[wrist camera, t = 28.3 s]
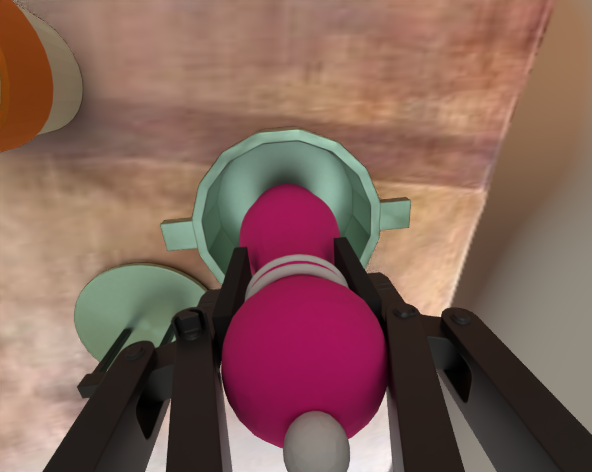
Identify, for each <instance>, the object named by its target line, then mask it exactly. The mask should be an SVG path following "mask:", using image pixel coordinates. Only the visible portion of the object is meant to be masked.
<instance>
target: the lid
mask: <svg viewBox="0 0 592 472" xmlns="http://www.w3.org/2000/svg"><path fill="white" fill-rule="evenodd" d="M206 291H207V289H206V288H205V287H204V286H203V285H202V284H201V283H199V282H198V281H197V280H195V279H194V278H192V277H191V276H189V275H187V274H185V273H183V272H181V271H179V270H176V269H174V268H171V267H167V266H164V265H159V264H153V263H131V264H124V265H120V266H116V267H113V268H111V269H108V270H106V271H104V272H102V273H101V274H99V275H98V276H96V277H95V278H94V279H93V280H92V281H90V282H89V283H88V284H87V285H86V286H85V288H84V289H83V290H82V292H81V293H80V295H79V297H78V299H77V302H76V305H75V311H74V321H75V327H76V330H77V333H78V336H79V338H80V340H81V342H82V343H83V345H84V346H85V348H86V349H87V350H88V351H89V352H90V354H91V355H92V356H93V357H94V358H96V359H97V360H98V361H99V362H100V363H99V364H98V366H97V367H96V368H95V370H94V371H93V373H91V374H86V375H85V377H84V378H83V379H82V381H81V382H80V383H79V385H78V386H77V388H78V390H79V392H80V394H81V396H82V398H90V397H91V396H92V394H93V392H94V391H95V389H96V388H97V386H98V385H99V383H100V382H101V380H102V378H103V377H104V375H105V374H106V371H107V369H108V368H110V366H111V364H112V363H113V361H114V360H115V358H116V357H117V355H118V354H119V353H120V352H121V351H122V350H123V349H124V348H125V347H127V346H128V345H130V344H132V343H135V342H138V341H142V340H147V341H151V342H153V344H154V346H155V348H156V347H159V346H162V345H165V344H168V343H171V342H173V341H175V340H176V338H175V334H174V331H173V328H172V324H171V320H172V317H173V316H174V315H175V314H176V313H178V312H180V311H181V310H183V309H186V308H190V307H197V305H198V303H199V300H200V298H201V296H202V295H203V294H204V293H205V292H206Z"/></svg>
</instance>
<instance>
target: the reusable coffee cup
mask: <svg viewBox="0 0 592 472" xmlns="http://www.w3.org/2000/svg"><path fill="white" fill-rule="evenodd" d="M82 92H83V87H82V77H81V74H80V70H79V67H78V64H77V62H76V60H75V58H74V55H73V53H72V52H71V50H70V49H69V47H68V46H67V44H66V43H65V41H64V40H63V39H62V38H61V37H60V36H59V34H58V33H57V32H56V31H55V30H54V29H53V28H51V27H50V26H49V25H48V24H47V23H45V22H44V21H43V20H41V19H39V18H38V17H36V16H34V15H33V14H31V13H29V12H28V11H26V10H24V9H23V8H21V7H20V6H18V5H16V4H15V3H14V2H13V1H12V0H0V152H4V151H7V150H10V149H14V148H17V147H20V146H21V145H23V144H25V143H27V142H29V141H31V140H32V139H33V138H34V137H35V136H36V135H40V134H43V133H47V132H51V131H54V130H58V129H60V128H62V127H64V126H65V125H67V124H68V123H69V122H70V121H71V120H72V119H73V118H74V117H75V115H76V113H77V112H78V110H79V107H80V104H81V101H82Z"/></svg>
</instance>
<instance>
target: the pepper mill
mask: <svg viewBox="0 0 592 472" xmlns="http://www.w3.org/2000/svg"><path fill="white" fill-rule="evenodd" d="M339 237H340V233H339V228H338V224H337V221H336V218H335V216H334V214H333V212H332V210H331V209H330V208H329V206H328V205H327V204H326V203H325V202H324V201H323V200H322V199H320V198H319V197H317V196H316V195H314V194H313V193H312V192H310V191H309V190H308V189H306V188H304V187H302V186H299V185H295V184H280V185H277V186H274V187H272V188H270V189H268V190H266V191H265V192H264V193H263V194H261V195H260V196H259V198H258V199H257V200H256V202H255V203H254V204H253V205H252V206H251V207H250V208H249V210H248V211H247V213H246V214H245V216H244V219H243V221H242V224H241V229H240V247H247V249H248V255H249V262H250V268H251V273H252V274H253V275H254V276H253V278H252V279H251V281H250V283H249V285H248V287H247V290H246V294H245V302H244V304H243V305H242V306H241V307H240V309H239V310H238V311H237V312H236V314H235V315H234V316H233V318H232V320H231V323H230V325H229V328H228V330H227V333H226V336H225V339H224V342H223V349H222V363H221V374H222V382H223V386H224V391H225V394H226V396H227V399H228V402H229V404H230V406H231V407H232V409H233V411H234V412H235V414H236V416H237V417H238V419H239V420H240V421H241V422H242V423H243V424H244V425H245V426H246V427H247V428H248V429H249V430H250V431H251V432H252V433H253V434H254V435H255V436H257V437H259V438H260V439H262V440H264V441H266V442H268V443H271V444H273V445H275V446H278V447H280V448H283V456H284V462H285V466H286V469H287V471H288V472H347V469H348V467H349V462H350V446H349V442H348V439H349V438H351V437H353V436H354V435H355V434H356V433H358V432H359V431H360V430H361V429H362V428H364V427H365V426H366V425H367V424H368V423H369V422H370V421H371V419H372V418H373V417H374V415H375V414H376V413H377V411H378V409H379V407H380V405H381V402H382V400H383V398H384V395H385V392H386V389H387V386H388V374H389V363H388V348H387V343H386V340H385V337H384V334H383V331H382V329H381V326H380V324H379V322H378V319H377V318H376V316H375V315H374V313H373V312H372V310H371V309H370V308H369V306H368V305H367V304H366V302H365V301H364V300H363V299H362V298H361V297H359V296H358V295H357V294H355V293H354V292H353V291H351V290H350V289H349V287H348V284H347V282H346V280H345V278H344V276H343V275H342V274H341V272H340V271H339V270H338V269H337V268H336V267H335V266H334V238H339Z"/></svg>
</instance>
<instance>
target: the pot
mask: <svg viewBox="0 0 592 472" xmlns="http://www.w3.org/2000/svg"><path fill="white" fill-rule="evenodd" d="M280 184H295V185H299V186H302V187H304V188H306V189H308V190H309V191H310V192H312V193H313V194H314V195H316V196H317V197H319V198H320V199H322V200H323V201H324V202H325V203H326V204H327V205H328V206H329V208H330V209H331V210H332V212H333V214H334V216H335V218H336V221H337V224H338V228H339V233H340V237H346V238H347V239H348V241H349V243H350V245H351V246H352V248H353V250H354V252H355V253H356V255H357V257H358V259H359V260H360V262H361V264H362V266H363V267H364V269H365V268H366V266H367V264H368V262H369V260H370V257H371V255H372V253H373V251H374V248H375V246H376V244H377V242H378V240H379V236H380V231H381V230H391V229H401V228H409V223H410V208H411V200H410V199H408V198H407V197H402V198H392V199H381V200H380V199H379V197H378V194H377V192H376V190H375V187H374V185H373V182H372V180H371V177H370V175H369V173H368V170H367V169H366V167H365V166H364V165H363V164H361V163H360V162H359V161H358V160H357V159H356V158H355V157H354V156H353V155H352V154H351V153H350V152H349V151H348V150H347V149H345V148H344V147H343V146H342V145H341V144H340V143H339V142H337V141H335V140H332V139H330V138H328V137H325V136H322V135H319V134H316V133H313V132H311V131H308V130H305V129H302V128H299V127H295V126H291V127H278V128H269V129H261V130H259V131H258V132H256V133H254V134H252V135H250V136H249V137H247V138H245V139H243V140H241V141H240V142H238V143H236V144H234V145H233V146H231V147H230V148H228V149H227V150H225V151H224V152H222V153H221V155H220V156H219V157H218V159H217V160H216V161H215V163H214V164H213V165H212V167H211V168H210V169H209V171H208V172H207V173H206V175H205V176H204V178H203V179H202V180H201V182H200V183H199V185H198V190H197V195H196V200H195V205H194V209H193V214H192V218H181V219H171V220H164V221H163V222H162V223H161V224H160V226H161V230H162V233H163V237H164V241H165V245H166V248H167V251H174V250H184V249H195V248H198V252H199V255H200V257H201V258H202V259H203V261H204V262H205V264H206V265H207V266H208V268H209V269H210V271H211V272H212V273H213V275H214V276H215V277H216V279H217V280H218V282H220V283H221V284H223V281H224V278H225V275H226V271H227V268H228V265H229V262H230V259H231V256H232V253H233V250H234V248H236V247H240V229H241V224H242V221H243V219H244V216H245V214H246V213H247V211H248V210H249V208H250V207H251V206H252V205H253V204H254V203H255V202H256V200H257V199H258V198H259V196H260V195H261V194H263V193H264V192H265V191H266V190H268V189H270V188H272V187H274V186H277V185H280ZM251 275H252V278H253V276H254V275H253V274H252V273H251Z"/></svg>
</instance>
